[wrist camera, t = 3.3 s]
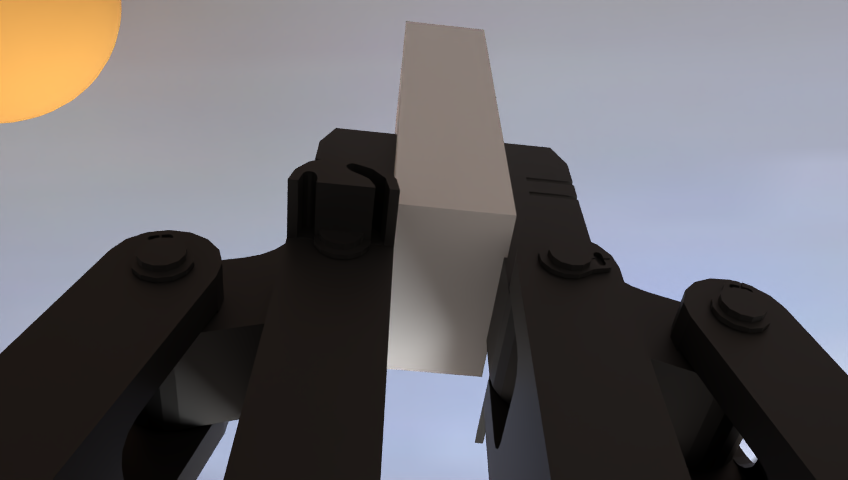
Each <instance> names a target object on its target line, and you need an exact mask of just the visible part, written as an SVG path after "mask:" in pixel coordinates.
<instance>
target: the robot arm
mask: <svg viewBox="0 0 848 480" xmlns="http://www.w3.org/2000/svg"><path fill="white" fill-rule="evenodd" d="M487 353H488V364H489V380H488V384H487V389H486V393H485V398H484V402H483V407H482V411H481V416H480V420H479V425H478V429H477V434H476V439H475V443H483V440H484V436H485V432H486V446H487V459H488V472H489V480H848V375H847V374H846V373H845V372H844V371H843V370H842V368H841V367H840V366H839V365H838V364H837V363H836V362H835V361H834V360H833V359H832V358H831V357H830V356H829V354H828V353H827V352H826V351H825V350H824V349H823V348H822V347H821V346H820V345H819V344H818V343H817V342H816V341H815V339H814V338H813V337H812V336H811V335H810V334H809V333H808V332H807V331H806V330H805V329H804V328H803V327H802V325H801V324H800V323H799V322H798V321H797V320H796V319H795V318H794V317H793V316H792V315H791V314H790V313H789V312H788V310H787V309H786V308H784V307H783V306H782V305H781V304H780V303H778V302H777V301H776V300H775V299H773V298H772V297H771V296H769V295H767V294H766V293H764V292H762V291H760V290H758V289H756V288H754V287H753V286H750V285H747V284H744V283H739V282H737V281H732V280H725V279H706V280H702V281H697V282H694V283H693V284H692V285H691V286H690V287H689V288H687V289H686V290H685V292H684V295H683V298H682V300H681V302H679V301H675V300H672V299H669V298H665V297H662V296H659V295H655V294H652V293H649V292H646V291H643V290H640V289H638V288H635V287H632V286H630V285H629V284H627V283H625V282H624V280H623V277H622V274H621V271H620V268H619V266H618V265H617V263H616V262H615V260H614V259H613V257H612V256H611V255H610V254H609V253H608V252H606V251H605V250H604V249H602V248H601V247H600V246H598V245H597V244H594V243H592V242H591V240H590V237H589V234H588V231H587V227H586V224H585V221H584V218H583V214H582V211H581V208H580V205H579V201H578V200H577V195H576V192H575V188H574V185H572V179H571V175H570V172H569V169H568V166H567V164H566V163H565V162H564V161H563V160H562V159H561V158H560V157H559V156H558V155H557V154H556V153H555V152H554V151H553V150H552V149H551V148H547V147H537V146H527V145H518V144H508V143H504V141H503V135H502V130H501V124H500V118H499V113H498V107H497V101H496V96H495V90H494V84H493V79H492V73H491V67H490V61H489V56H488V50H487V44H486V39H485V33H484V30H481V29H472V28H463V27H454V26H445V25H436V24H427V23H418V22H409V21H406V28H405V38H404V48H403V58H402V68H401V78H400V87H399V97H398V107H397V117H396V127H395V134H389V133H379V132H369V131H360V130H350V129H340V128H336V129H334V130H333V131H332V132H331V133H330V134H328V135H327V136H326V137H325V138H323V139H322V140H321V141H320V142H319V146H318V150H317V154H316V158H315V161H310V162H308V163H306V164H304V165H302V166H300V167H298V168H296V169H295V170H294V171H293V173H292V174H291V176H290V177H289V178H288V204H287V239H286V243H285V244H284V245H282V246H280V247H279V248H277V249H275V250H272V251H270V252H267V253H264V254H261V255H256V256H251V257H245V258H237V259H228V260H221V256H220V251H219V249H218V248H217V247H216V246H214V245H213V244H212V243H211V242H210V241H209V240H208V239H206V238H203V237H201V236H198V235H195V234H193V233H190V232H181V231H173V230H166V231H155V232H146V233H143V234H140V235H137V236H134V237H131V238H128V239H126V240H124V241H123V242H121V243H120V244H118V245H117V246H115V247H114V248H112V249H110V250H109V251H108V252H107V253H106V254H105V255H104V256H103V257H102V258H101V259H100V260H99V261H98V262H97V263H96V264H95V265H94V266H92V267H91V268H90V269H89V270H88V271H87V272H86V273H85V274H84V275H83V276H82V277H81V278H80V279H79V280H78V281H77V282H76V283H75V284H73V285H72V286H71V287H70V288H69V289H68V290H67V291H66V292H65V293H64V294H63V295H62V296H61V297H60V298H59V299H58V300H57V301H56V302H54V303H53V304H52V305H51V306H50V307H49V308H48V309H47V310H46V311H45V312H44V313H43V314H42V315H41V316H40V317H39V318H38V319H37V320H35V321H34V322H33V323H32V324H31V325H30V326H29V327H28V328H27V329H26V330H25V331H24V332H23V333H22V334H21V335H20V336H19V337H18V338H17V339H15V340H14V341H13V342H12V343H11V344H10V345H9V346H8V347H7V348H6V349H5V350H4V351H3V352H2V353H1V354H0V480H196V479H197V477H198V476H199V474H200V473H201V471H202V469H203V468H204V466H205V464H206V463H207V461H208V459H209V458H210V456H211V455H212V453H213V451H214V450H215V448H216V446H217V445H218V443H219V441H220V440H221V438H222V437H223V435H224V433H225V430H226V427H227V424H228V421H232V420H238V419H239V422H238V426H237V430H236V434H235V438H234V442H233V445H232V449H231V453H230V457H229V461H228V464H227V468H226V472H225V476H224V480H380V478H381V461H382V443H383V426H384V409H385V392H386V375H387V369H396V370H408V371H419V372H431V373H443V374H455V375H467V376H479V377H482V374H483V369H484V364H485V360H486V355H487ZM742 439H744V440H745V442H746V443H747V444H748V446H749V447H750V449H751V450H752V451H753V453H754V454H755V456H756V457H757V458H758V460H757V462H756V463H755V464H754V463H752V461H751V460H750V459H749V458H748V457H747V456H746V455H745V453H744V452H743V451H742V449H741V448H740V446H739V445H740V443H741V441H742Z"/></svg>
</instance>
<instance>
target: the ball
mask: <svg viewBox="0 0 848 480" xmlns="http://www.w3.org/2000/svg"><path fill="white" fill-rule="evenodd" d="M120 20H121V0H0V123H10V122H17V121H22V120H27V119H31V118H35V117H39V116H41V115H44V114H47V113H49V112H52V111H54V110H56V109H57V108H59V107H61V106H63V105H65V104H67V103H68V102H70V101H72V100H73V99H74V98H76V97H77V96H78V95H79V94H81V93H82V92H83V91H84V90H85V89H86V88H88V87H89V86H90V84H91V83H92V82H93V81H94V80H95V79H96V78H97V77H98V75H99V74H100V72H101V70H102V69H103V67H104V66H105V64H106V63H107V61H108V60H109V58H110V55H111V53H112V51H113V48H114V46H115V43H116V39H117V35H118V31H119V27H120Z"/></svg>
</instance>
